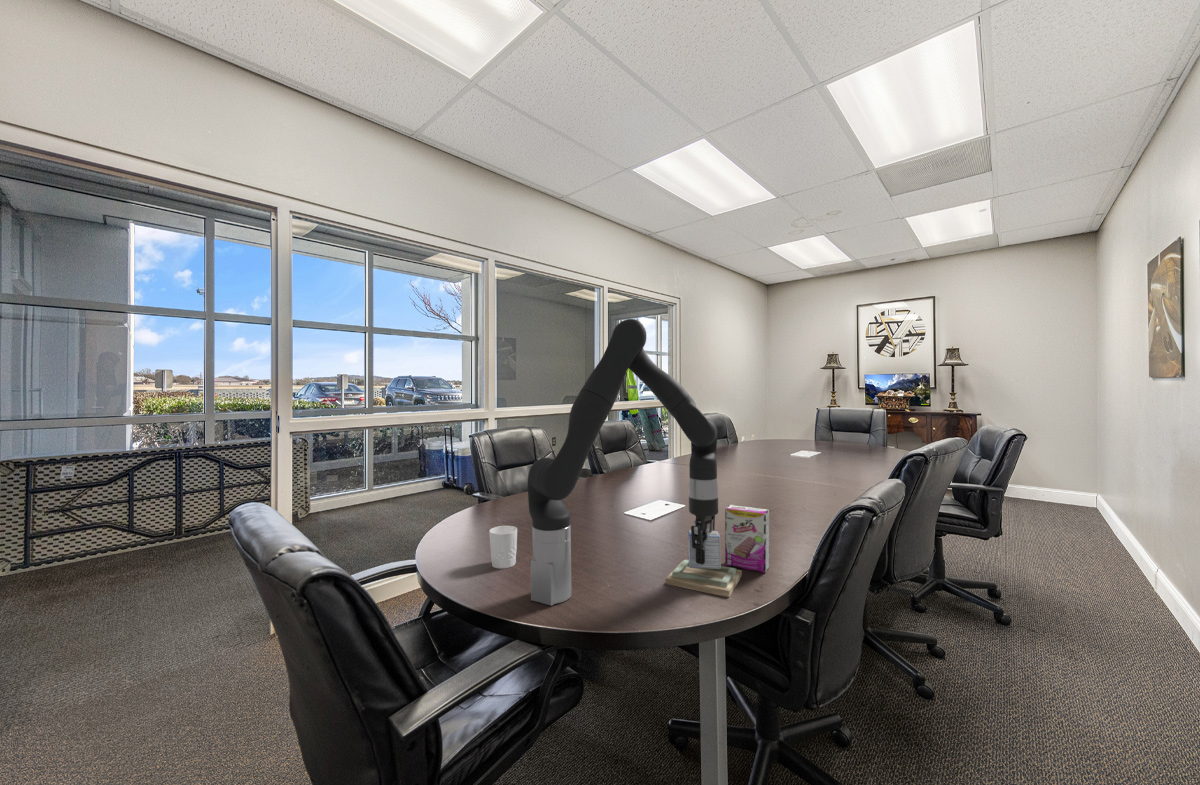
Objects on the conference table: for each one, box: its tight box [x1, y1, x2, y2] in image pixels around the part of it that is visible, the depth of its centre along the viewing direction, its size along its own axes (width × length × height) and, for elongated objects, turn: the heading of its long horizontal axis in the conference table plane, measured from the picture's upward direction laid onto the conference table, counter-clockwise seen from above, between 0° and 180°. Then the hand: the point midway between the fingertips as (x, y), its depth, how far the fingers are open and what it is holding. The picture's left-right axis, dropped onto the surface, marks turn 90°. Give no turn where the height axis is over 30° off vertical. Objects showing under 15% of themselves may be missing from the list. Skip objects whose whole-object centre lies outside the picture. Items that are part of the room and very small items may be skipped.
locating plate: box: [665, 559, 743, 598], centre depth 119 cm, size 14×16×2 cm
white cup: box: [488, 525, 518, 570], centre depth 132 cm, size 8×8×10 cm
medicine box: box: [687, 530, 722, 569], centre depth 120 cm, size 8×4×9 cm, turn 83°
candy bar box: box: [724, 504, 770, 574], centre depth 128 cm, size 11×5×16 cm, turn 59°
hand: (703, 559), depth 120 cm, fingers closed on medicine box, 5 cm apart
